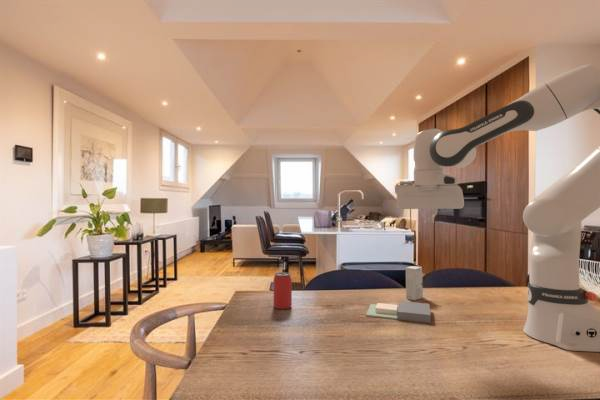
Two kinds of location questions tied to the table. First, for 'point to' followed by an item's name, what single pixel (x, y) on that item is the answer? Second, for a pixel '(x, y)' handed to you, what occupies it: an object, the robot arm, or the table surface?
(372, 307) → the mat
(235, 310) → the table surface
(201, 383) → the table surface
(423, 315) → the block
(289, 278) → the beer can
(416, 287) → the skincare box
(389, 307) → the tile
